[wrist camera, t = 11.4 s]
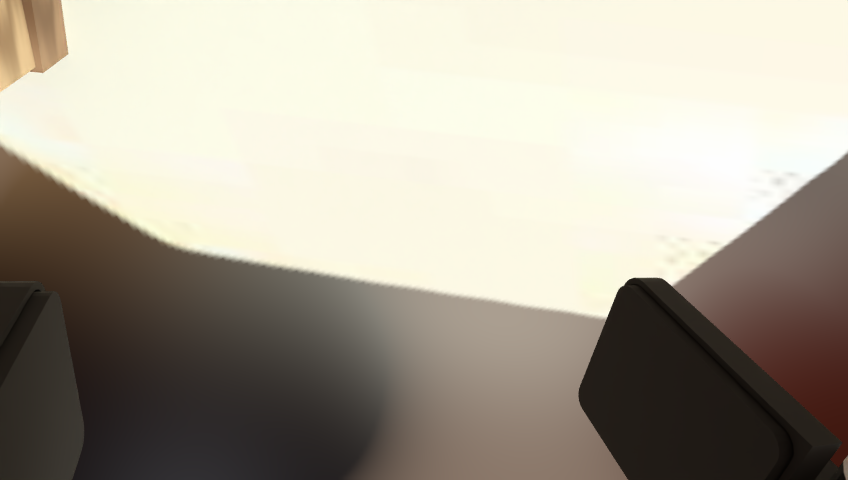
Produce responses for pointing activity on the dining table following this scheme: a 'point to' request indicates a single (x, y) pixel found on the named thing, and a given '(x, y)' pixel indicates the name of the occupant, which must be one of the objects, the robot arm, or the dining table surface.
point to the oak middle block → (14, 43)
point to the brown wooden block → (45, 32)
